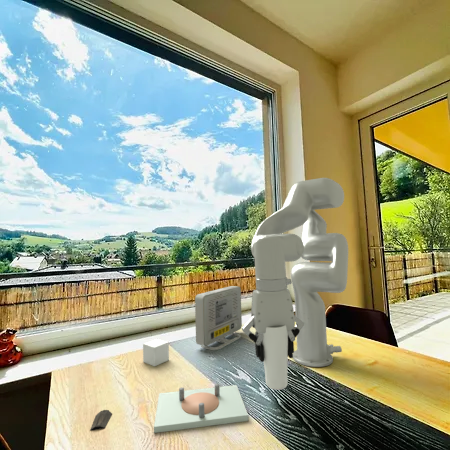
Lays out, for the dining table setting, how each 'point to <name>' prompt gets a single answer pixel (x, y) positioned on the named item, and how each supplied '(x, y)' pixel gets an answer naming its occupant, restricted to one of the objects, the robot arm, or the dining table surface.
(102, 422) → the block
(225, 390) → the pin nest plate
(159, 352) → the white cube
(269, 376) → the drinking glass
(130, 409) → the dining table surface
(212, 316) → the network device
